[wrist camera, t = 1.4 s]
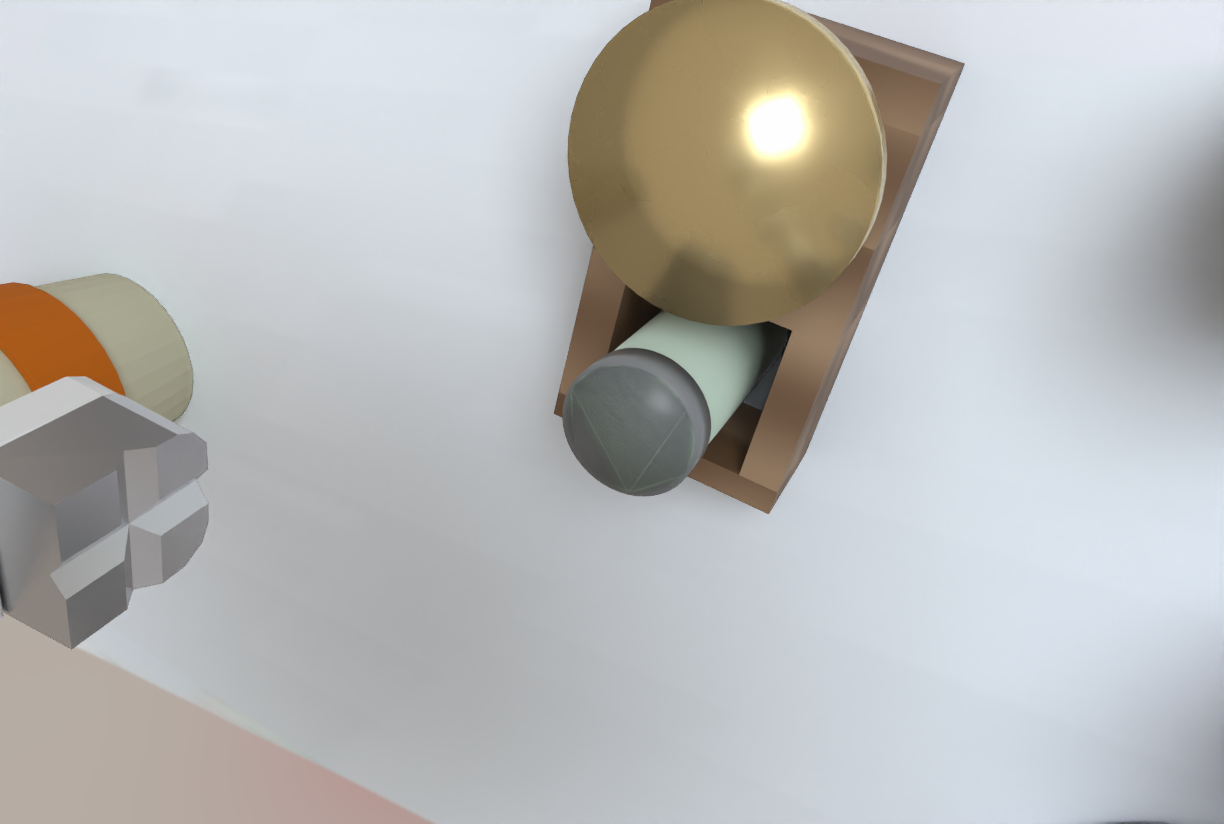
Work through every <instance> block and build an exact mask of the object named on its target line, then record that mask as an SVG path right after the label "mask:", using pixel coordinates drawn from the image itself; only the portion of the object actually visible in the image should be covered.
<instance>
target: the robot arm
mask: <svg viewBox="0 0 1224 824" xmlns="http://www.w3.org/2000/svg"><path fill="white" fill-rule="evenodd" d="M207 469H208V461H207V446H206V442H205V441H204V440H202V439H201V438H200V437H198V436H197V435H196V434H194V433H193V432H191V431H189V430H187V429H185V428H183V427H181V426H180V425H178V424H176V423H174V422H172V421H170V420H168V419H166V418H165V417H163V416H161V415H159V414H157V413H155V412H153V411H151V410H150V409H148V408H146V407H144V406H142V405H140V404H138V403H136V402H135V401H133V400H131V399H129V398H127V397H125V396H123V395H120V394H118V393H116V392H114V391H112V390H110V389H108V388H106V387H105V386H103V385H101V384H99V383H97V382H95V381H93V380H91V379H90V378H88V377H86V376H78V377H64V378H62V379H60V380H58V381H55V382H53V383H51V384H49V385H47V386H44V387H42V388H40V389H38V390H36V391H33V392H31V393H29V394H27V395H25V396H23V397H20V398H18V399H16V400H14V401H12V402H9V403H7V404H5V405H3V406H1V407H0V618H2V617H3V616H4V615H3V612H4V613H6V614H8V615H9V616H11V617H13V618H15V619H17V620H19V621H21V622H22V623H24V624H26V625H28V626H30V627H31V628H33V629H35V630H37V631H39V632H41V633H43V634H44V635H46V636H48V637H50V638H52V639H53V640H55V641H57V642H59V643H61V644H63V645H64V646H66V647H68V648H70V649H73V648H74V647H75V646H77V645H78V644H80V643H81V642H82V641H84V640H85V639H87V638H88V637H89V636H91V635H92V634H93V633H95V632H96V631H98V630H99V629H100V628H102V627H103V626H104V625H106V624H107V623H109V622H110V621H111V620H113V619H114V618H116V617H117V616H118V615H120V614H121V613H122V612H124V611H125V610H127V608H128V605H129V601H130V598H131V595H132V591H133V589H137V588H142V587H147V586H151V585H156V584H161V583H163V582H165V581H166V580H167V579H169V578H170V577H171V576H173V575H174V574H175V573H177V572H178V571H179V570H180V569H182V568H183V567H184V566H185V565H186V564H187V562H188V561H189V560H190V558H191V557H192V556H193V554H194V553H195V551H196V550H197V549H198V547H199V546H200V544H201V543H202V541H203V538H204V534H205V531H206V528H207V525H208V501H207V499H206V497H205V495H204V493H203V491H202V489H201V488H200V486H199V484H198V482H197V479H198V478H199V477H200V476H201V475H202V474H203V473H204V472H205V471H206V470H207Z"/></svg>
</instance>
